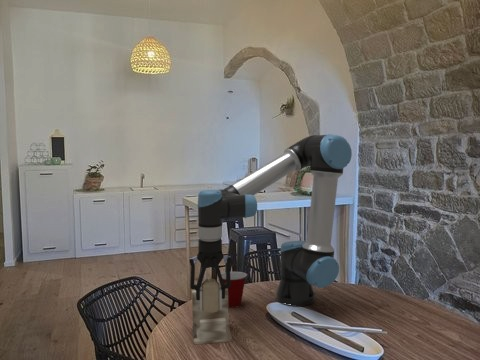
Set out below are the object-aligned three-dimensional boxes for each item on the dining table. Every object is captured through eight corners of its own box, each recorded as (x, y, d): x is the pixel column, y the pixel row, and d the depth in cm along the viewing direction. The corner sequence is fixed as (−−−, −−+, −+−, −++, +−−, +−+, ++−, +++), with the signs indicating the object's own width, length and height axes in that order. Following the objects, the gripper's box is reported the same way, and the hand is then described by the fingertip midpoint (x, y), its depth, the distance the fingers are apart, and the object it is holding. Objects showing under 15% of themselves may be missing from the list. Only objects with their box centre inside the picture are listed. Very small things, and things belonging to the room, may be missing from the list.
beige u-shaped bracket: (227, 324, 141) (227, 288, 140) (232, 341, 129) (231, 301, 128) (192, 326, 139) (192, 290, 138) (193, 344, 128) (193, 304, 126)
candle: (200, 312, 131) (199, 281, 130) (204, 305, 137) (204, 276, 136) (216, 313, 130) (216, 283, 129) (221, 306, 135) (220, 277, 135)
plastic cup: (244, 297, 165) (243, 268, 164) (250, 308, 154) (249, 277, 153) (217, 300, 163) (216, 270, 162) (221, 311, 152) (221, 279, 151)
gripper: (237, 235, 136) (237, 302, 138) (180, 236, 134) (181, 305, 136) (240, 240, 129) (240, 311, 131) (180, 242, 126) (181, 315, 128)
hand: (210, 308), depth 133 cm, fingers closed on candle, 5 cm apart
